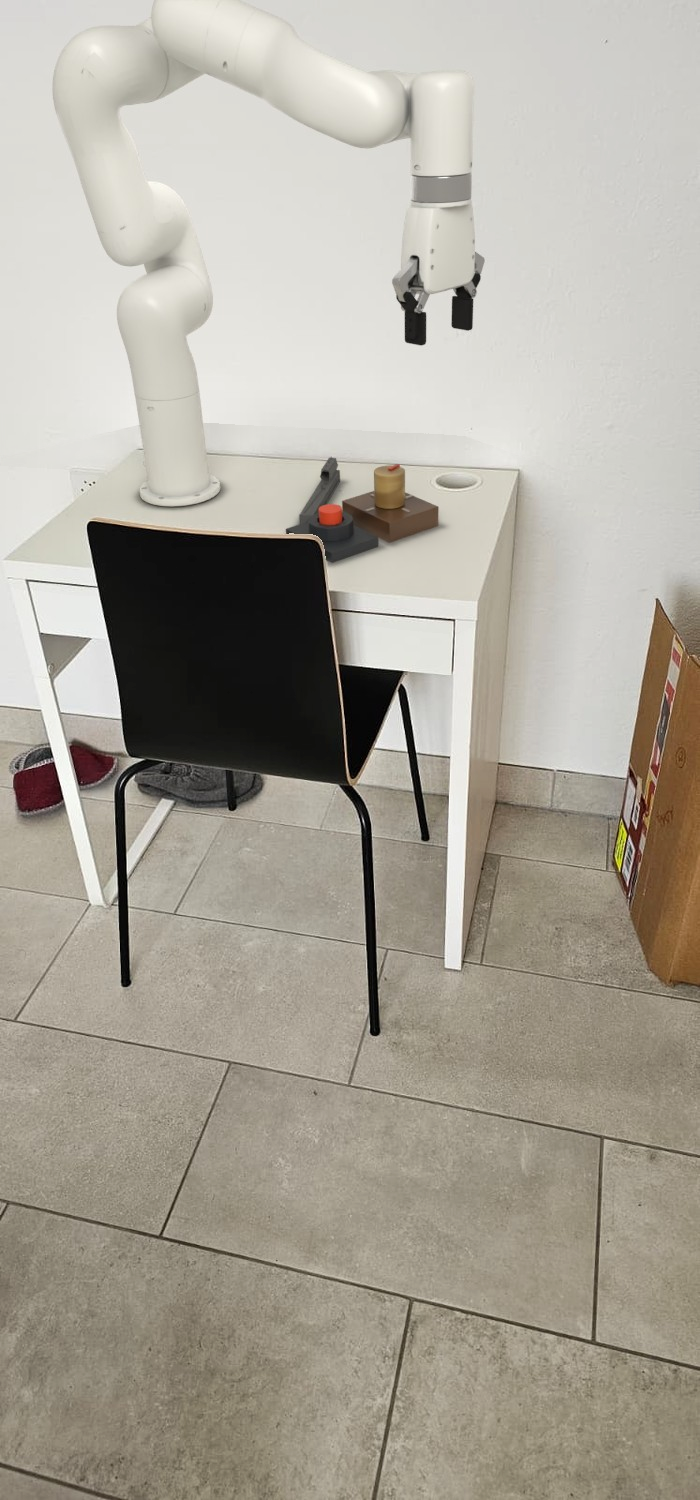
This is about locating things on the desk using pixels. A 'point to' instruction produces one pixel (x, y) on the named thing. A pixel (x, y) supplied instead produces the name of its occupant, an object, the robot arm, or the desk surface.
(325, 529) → the switch box
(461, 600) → the desk surface
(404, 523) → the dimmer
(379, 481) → the dimmer knob
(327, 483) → the dark grey long bar
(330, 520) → the power button
